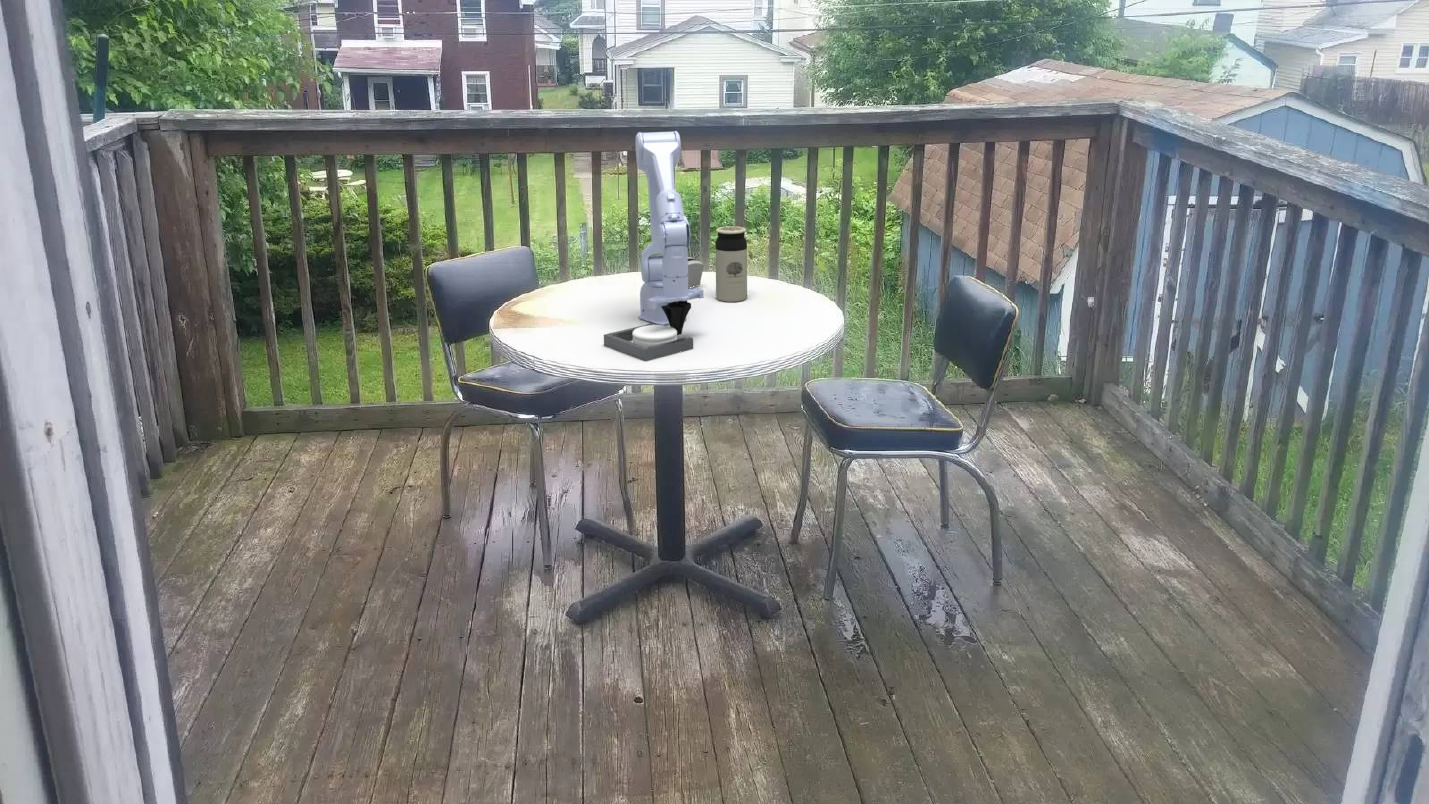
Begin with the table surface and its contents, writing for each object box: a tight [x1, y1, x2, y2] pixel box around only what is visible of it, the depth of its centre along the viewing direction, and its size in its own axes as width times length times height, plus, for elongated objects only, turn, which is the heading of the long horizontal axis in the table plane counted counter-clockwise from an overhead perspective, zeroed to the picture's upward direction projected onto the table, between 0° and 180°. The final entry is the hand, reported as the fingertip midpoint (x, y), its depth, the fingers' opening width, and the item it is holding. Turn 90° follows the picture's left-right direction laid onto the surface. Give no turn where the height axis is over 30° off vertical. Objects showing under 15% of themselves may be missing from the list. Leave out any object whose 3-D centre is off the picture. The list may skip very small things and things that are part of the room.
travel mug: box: [715, 225, 748, 303], centre depth 284 cm, size 8×8×18 cm
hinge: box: [688, 256, 705, 289], centre depth 294 cm, size 17×5×10 cm, turn 144°
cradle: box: [603, 323, 694, 362], centre depth 248 cm, size 15×13×2 cm
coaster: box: [632, 324, 678, 348], centre depth 249 cm, size 10×10×4 cm
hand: (676, 333), depth 253 cm, fingers closed
